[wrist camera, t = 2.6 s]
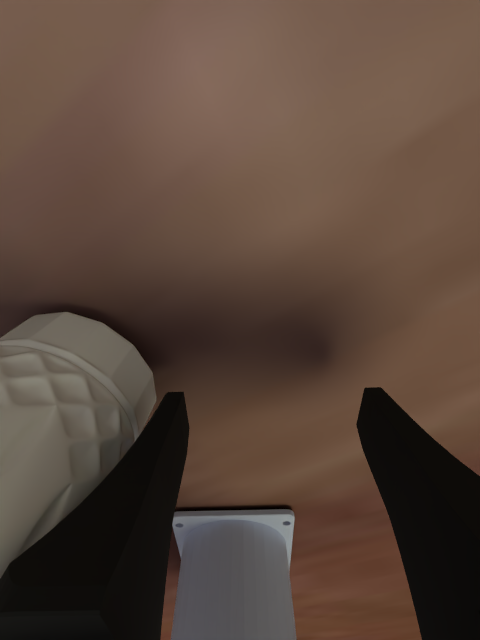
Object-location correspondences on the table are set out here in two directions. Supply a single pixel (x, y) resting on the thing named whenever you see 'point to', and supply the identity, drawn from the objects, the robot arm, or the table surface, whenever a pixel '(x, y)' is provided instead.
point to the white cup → (63, 419)
